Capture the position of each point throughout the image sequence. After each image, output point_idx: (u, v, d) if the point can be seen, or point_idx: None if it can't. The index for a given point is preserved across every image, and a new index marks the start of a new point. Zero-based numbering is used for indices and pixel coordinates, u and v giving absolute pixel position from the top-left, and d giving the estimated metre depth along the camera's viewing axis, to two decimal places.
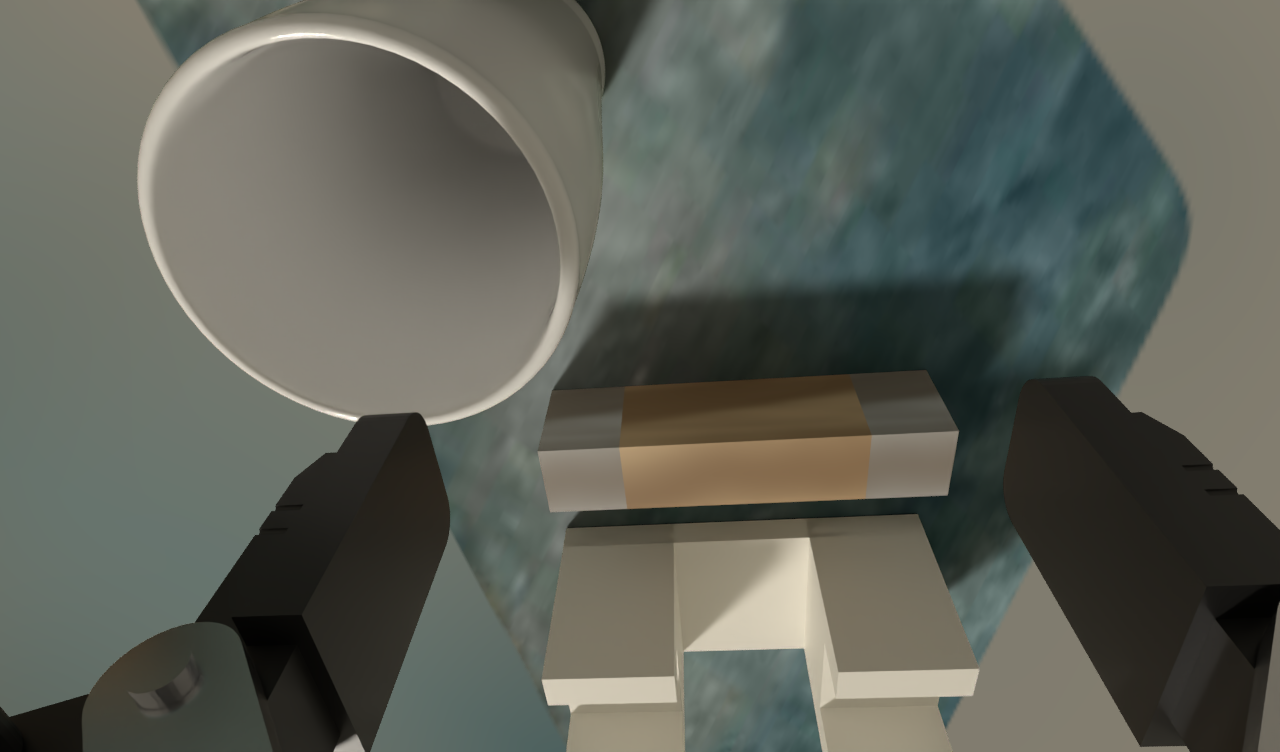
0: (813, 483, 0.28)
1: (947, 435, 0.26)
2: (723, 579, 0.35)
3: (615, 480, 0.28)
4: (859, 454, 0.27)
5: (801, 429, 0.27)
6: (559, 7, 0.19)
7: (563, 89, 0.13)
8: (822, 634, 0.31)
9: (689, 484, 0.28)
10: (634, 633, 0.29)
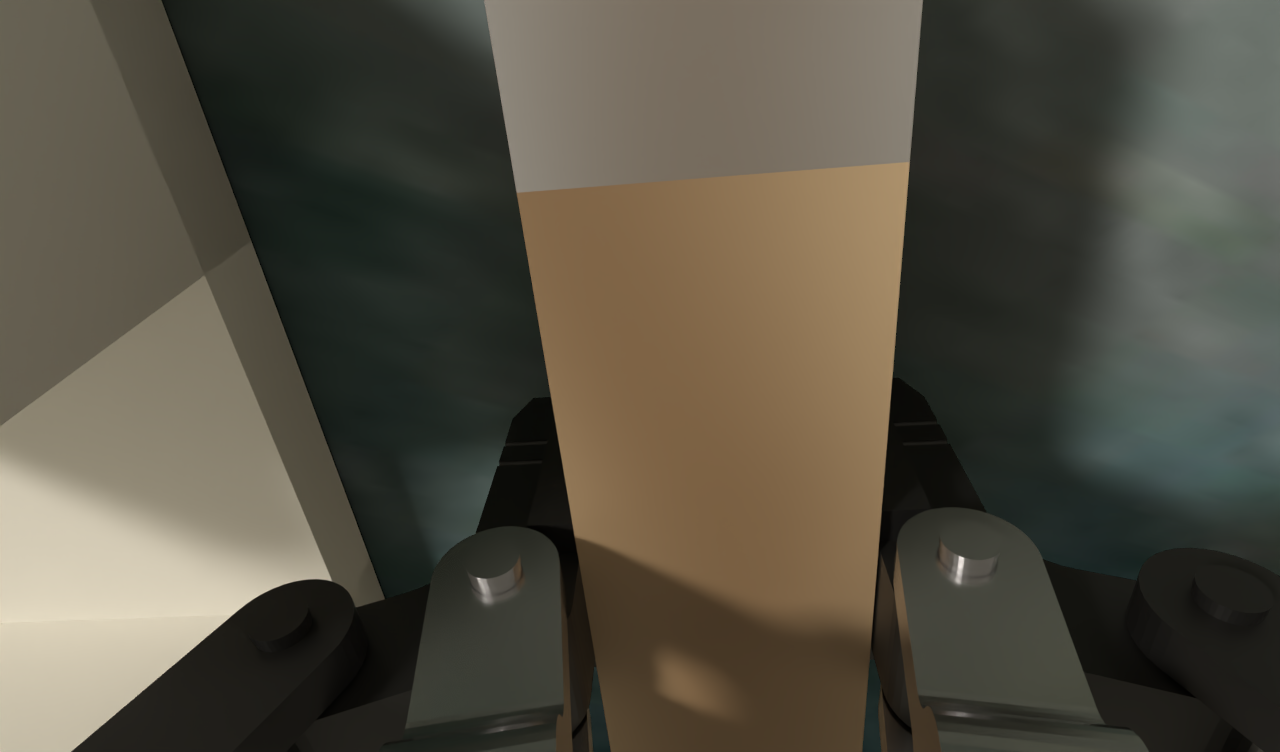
0: None
1: None
2: (96, 427, 0.11)
3: (698, 139, 0.06)
4: None
5: None
6: None
7: None
8: None
9: (675, 446, 0.07)
10: None
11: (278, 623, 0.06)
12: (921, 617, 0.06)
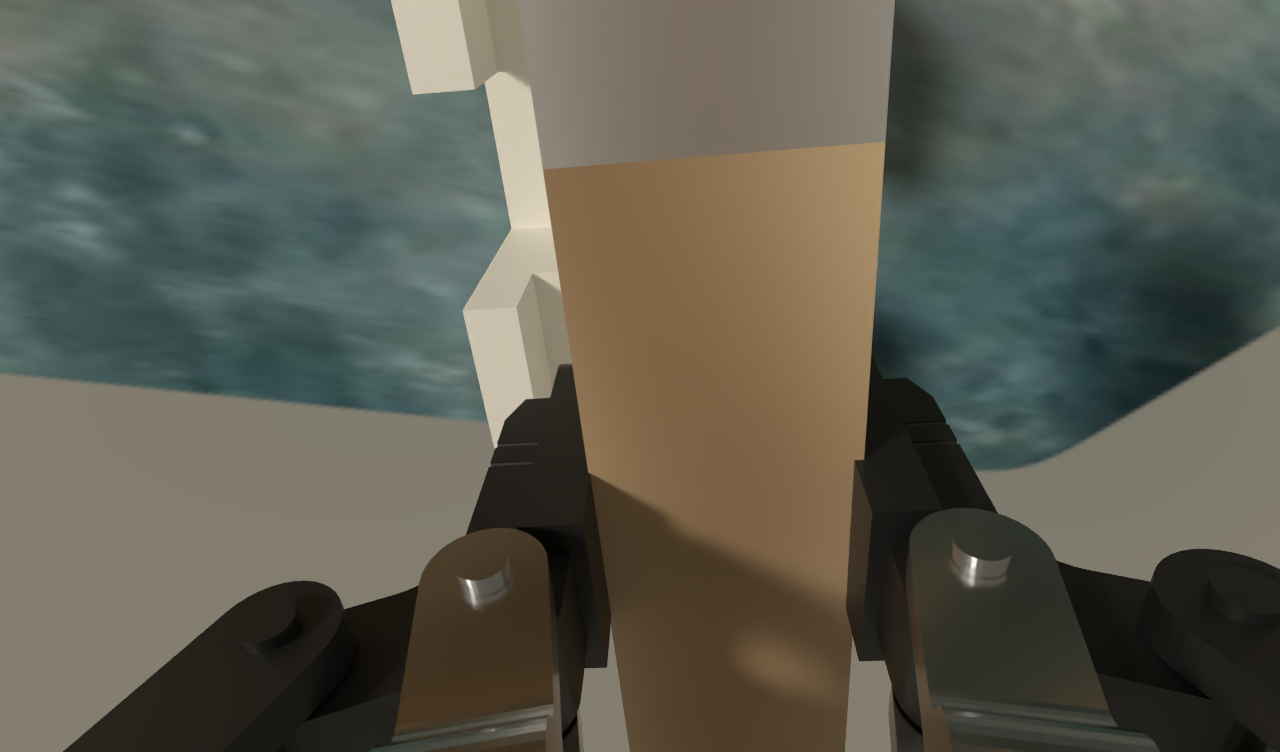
0: (686, 694, 0.10)
1: None
2: None
3: (701, 122, 0.06)
4: None
5: None
6: None
7: None
8: None
9: (680, 398, 0.08)
10: None
11: (266, 625, 0.06)
12: (935, 618, 0.06)
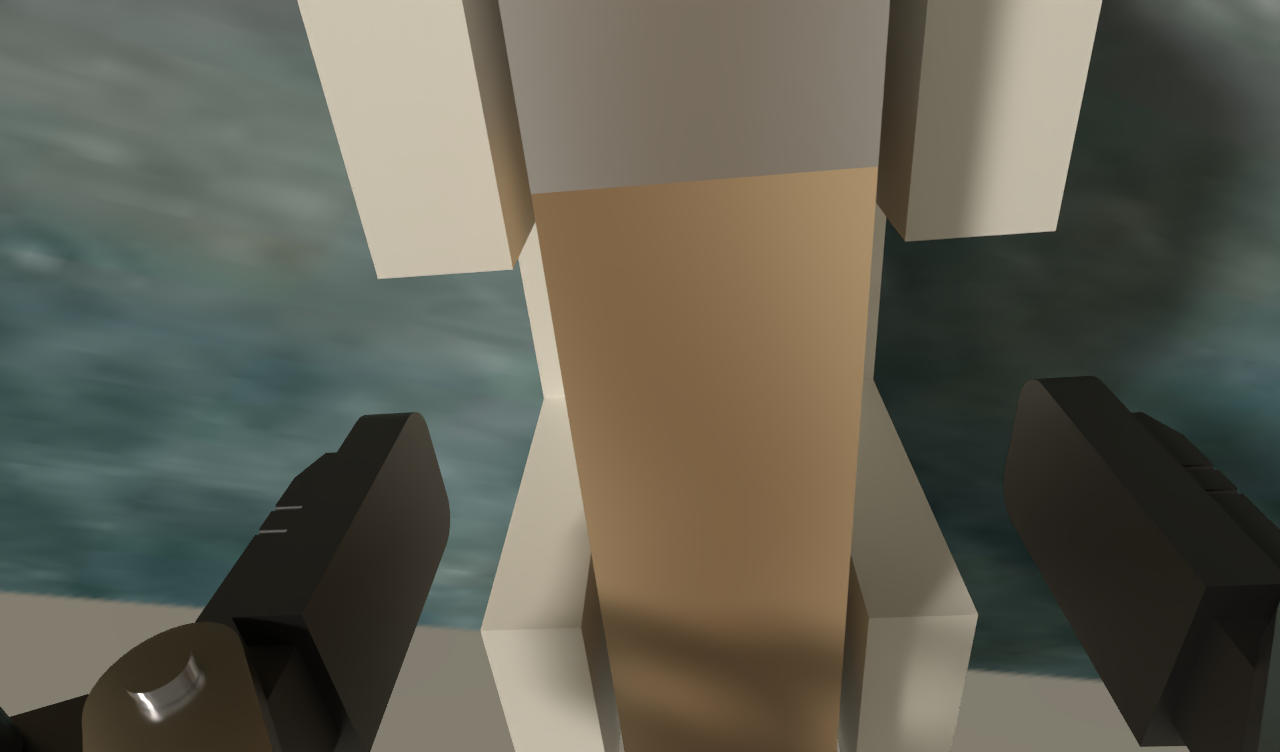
0: (680, 700, 0.10)
1: None
2: None
3: (691, 148, 0.06)
4: None
5: None
6: None
7: None
8: None
9: (671, 417, 0.08)
10: None
11: None
12: None
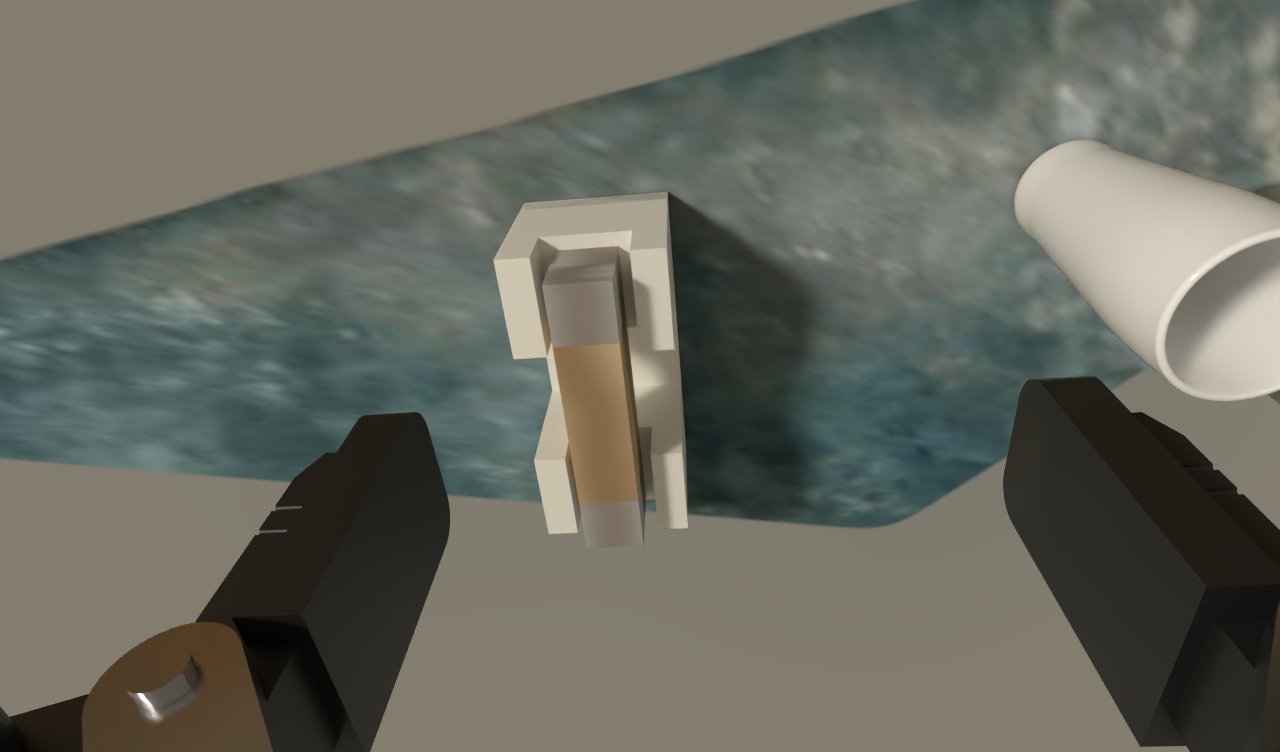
0: (591, 472, 0.37)
1: (639, 540, 0.39)
2: None
3: (583, 339, 0.33)
4: (620, 496, 0.37)
5: (634, 456, 0.37)
6: None
7: None
8: (650, 421, 0.40)
9: (583, 392, 0.34)
10: None
11: None
12: None
